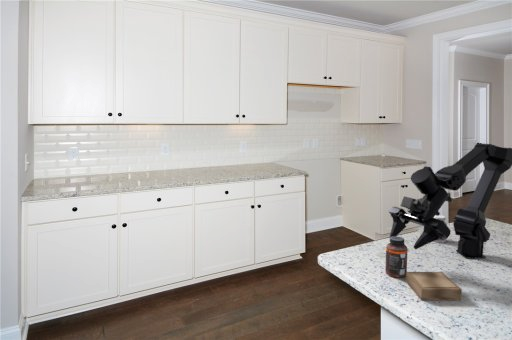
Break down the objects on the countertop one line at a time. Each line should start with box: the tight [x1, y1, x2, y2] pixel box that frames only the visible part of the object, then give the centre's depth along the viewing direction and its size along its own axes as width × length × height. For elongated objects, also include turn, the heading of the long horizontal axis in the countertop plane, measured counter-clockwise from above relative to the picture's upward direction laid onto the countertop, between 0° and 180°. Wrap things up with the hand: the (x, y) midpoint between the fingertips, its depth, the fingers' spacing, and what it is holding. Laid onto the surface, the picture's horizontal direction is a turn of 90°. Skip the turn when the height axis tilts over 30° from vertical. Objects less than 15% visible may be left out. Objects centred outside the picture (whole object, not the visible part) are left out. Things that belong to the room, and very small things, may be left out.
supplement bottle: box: [385, 235, 409, 279], centre depth 100 cm, size 6×6×11 cm
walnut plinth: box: [405, 271, 463, 301], centre depth 90 cm, size 10×10×3 cm
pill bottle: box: [433, 214, 448, 244], centre depth 126 cm, size 5×5×10 cm
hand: (402, 243), depth 100 cm, fingers open, 9 cm apart
